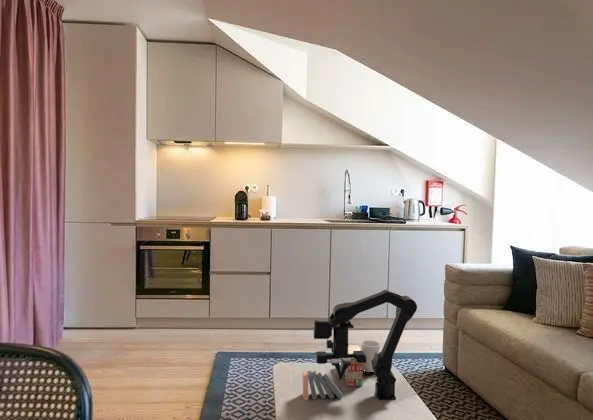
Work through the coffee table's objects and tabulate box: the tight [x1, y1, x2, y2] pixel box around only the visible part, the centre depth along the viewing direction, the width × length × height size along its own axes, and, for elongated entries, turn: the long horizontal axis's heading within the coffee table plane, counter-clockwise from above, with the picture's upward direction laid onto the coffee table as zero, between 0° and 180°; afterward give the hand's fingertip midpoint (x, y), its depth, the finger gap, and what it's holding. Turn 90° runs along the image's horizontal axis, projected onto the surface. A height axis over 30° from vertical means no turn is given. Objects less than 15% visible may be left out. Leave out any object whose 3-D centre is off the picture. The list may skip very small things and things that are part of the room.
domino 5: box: [322, 373, 344, 400], centre depth 172 cm, size 2×5×9 cm
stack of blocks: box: [344, 344, 364, 387], centre depth 191 cm, size 21×6×12 cm, turn 1°
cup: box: [360, 339, 381, 372], centre depth 196 cm, size 8×8×12 cm
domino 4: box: [316, 372, 335, 400], centre depth 171 cm, size 2×5×9 cm
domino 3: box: [311, 370, 327, 400], centre depth 171 cm, size 2×5×9 cm, turn 5°
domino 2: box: [306, 370, 318, 400], centre depth 171 cm, size 2×5×9 cm, turn 5°
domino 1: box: [302, 370, 309, 401], centre depth 171 cm, size 2×5×9 cm, turn 5°
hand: (340, 379), depth 172 cm, fingers closed
